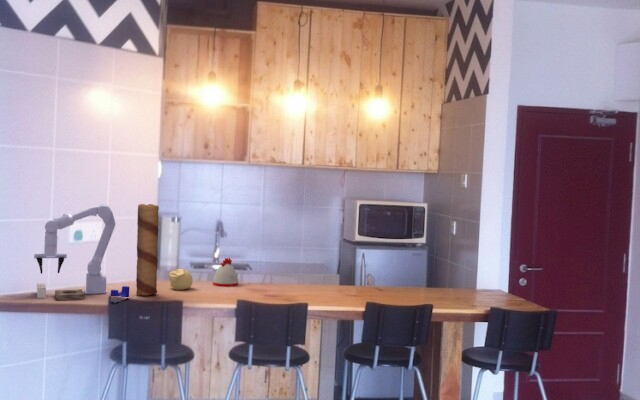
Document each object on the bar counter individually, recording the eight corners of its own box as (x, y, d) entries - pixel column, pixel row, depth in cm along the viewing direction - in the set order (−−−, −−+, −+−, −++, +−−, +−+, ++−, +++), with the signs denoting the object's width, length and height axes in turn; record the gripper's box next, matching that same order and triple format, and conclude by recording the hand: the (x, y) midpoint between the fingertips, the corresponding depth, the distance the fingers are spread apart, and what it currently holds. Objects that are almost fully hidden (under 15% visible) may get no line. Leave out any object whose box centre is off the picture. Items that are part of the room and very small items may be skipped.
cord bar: (44, 292, 317) (44, 282, 316) (45, 298, 304) (46, 287, 304) (36, 293, 315) (37, 282, 315) (37, 298, 302) (37, 287, 302)
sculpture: (165, 288, 342) (165, 267, 341) (185, 286, 350) (186, 266, 349) (175, 291, 333) (176, 270, 333) (196, 289, 341) (196, 269, 341)
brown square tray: (81, 294, 315) (81, 289, 315) (84, 299, 304) (84, 294, 304) (55, 295, 310) (55, 290, 310) (57, 300, 298) (57, 295, 298)
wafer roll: (149, 291, 329) (150, 203, 328) (161, 294, 322) (162, 204, 321) (131, 294, 321) (132, 204, 320) (143, 297, 314) (144, 204, 313)
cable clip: (120, 298, 311) (120, 285, 311) (129, 298, 310) (129, 286, 310) (107, 302, 299) (107, 289, 299) (116, 303, 298) (116, 290, 298)
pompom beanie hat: (243, 284, 363) (244, 258, 362) (226, 287, 351) (227, 260, 350) (224, 281, 370) (225, 255, 370) (207, 284, 358) (208, 257, 358)
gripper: (66, 244, 320) (65, 271, 321) (34, 244, 314) (33, 272, 314) (67, 245, 314) (66, 273, 314) (34, 245, 308) (33, 274, 308)
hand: (50, 273), depth 314 cm, fingers open, 7 cm apart
